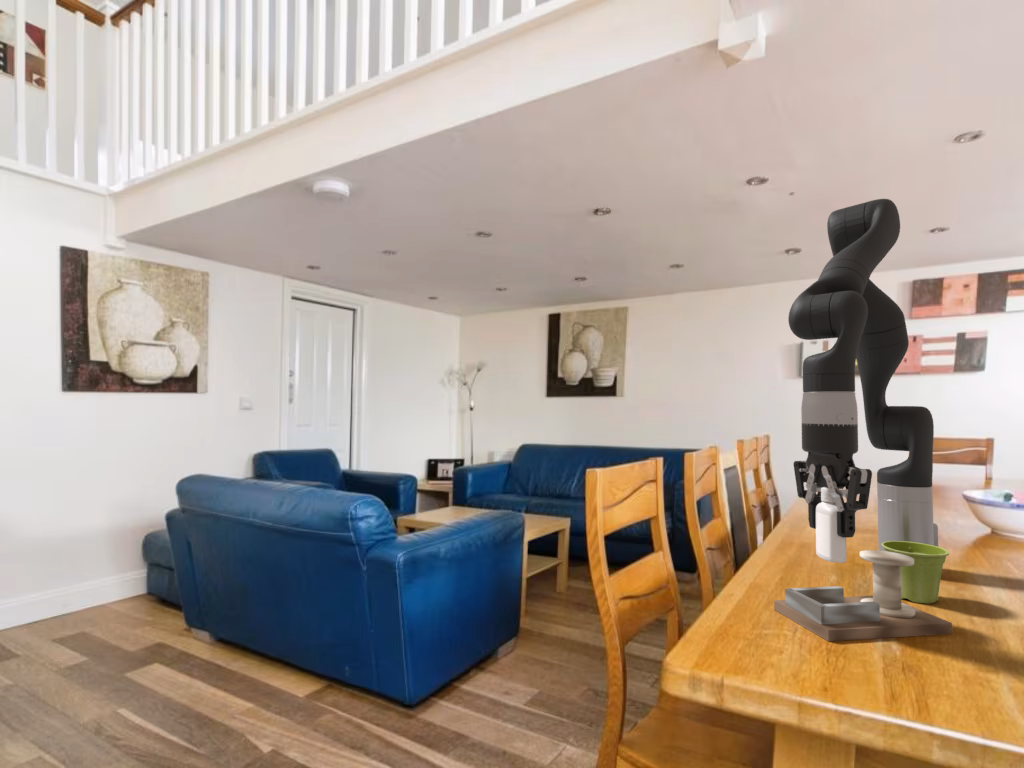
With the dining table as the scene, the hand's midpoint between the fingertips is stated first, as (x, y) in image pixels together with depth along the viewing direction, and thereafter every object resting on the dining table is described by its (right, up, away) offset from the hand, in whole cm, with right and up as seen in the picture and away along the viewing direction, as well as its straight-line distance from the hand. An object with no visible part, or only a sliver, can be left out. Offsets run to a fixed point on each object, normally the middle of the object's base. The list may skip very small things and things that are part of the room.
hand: (830, 531), depth 83 cm
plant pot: (+21, -15, +11) cm, 28 cm away
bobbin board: (+4, -14, 0) cm, 14 cm away
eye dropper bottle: (0, -4, 0) cm, 4 cm away
